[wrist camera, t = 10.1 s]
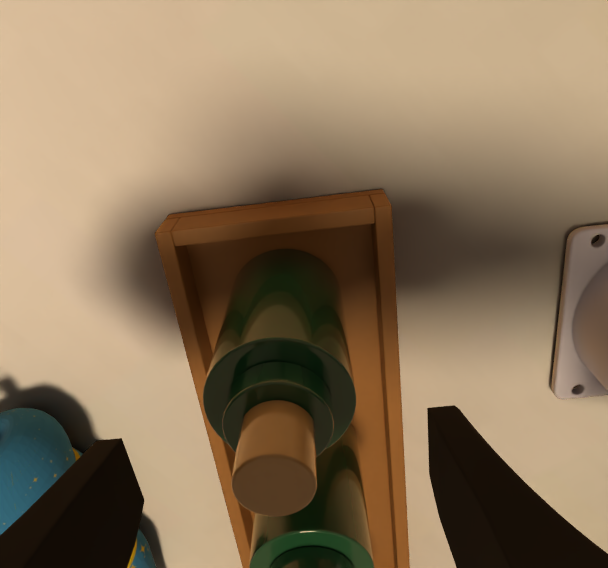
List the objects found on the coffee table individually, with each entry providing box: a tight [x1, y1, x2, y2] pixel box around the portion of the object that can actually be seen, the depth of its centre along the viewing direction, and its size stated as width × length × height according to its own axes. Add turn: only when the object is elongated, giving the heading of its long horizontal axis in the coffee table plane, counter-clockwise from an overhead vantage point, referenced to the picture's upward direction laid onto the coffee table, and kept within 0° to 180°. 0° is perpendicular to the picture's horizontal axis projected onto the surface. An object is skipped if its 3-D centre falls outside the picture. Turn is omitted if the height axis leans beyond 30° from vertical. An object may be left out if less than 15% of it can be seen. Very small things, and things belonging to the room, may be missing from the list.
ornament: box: [0, 408, 156, 568], centre depth 24 cm, size 5×5×15 cm
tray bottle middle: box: [249, 423, 375, 568], centre depth 19 cm, size 4×4×10 cm
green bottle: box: [203, 249, 357, 517], centre depth 16 cm, size 4×4×10 cm
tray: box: [155, 189, 410, 568], centre depth 23 cm, size 8×23×2 cm, turn 7°
